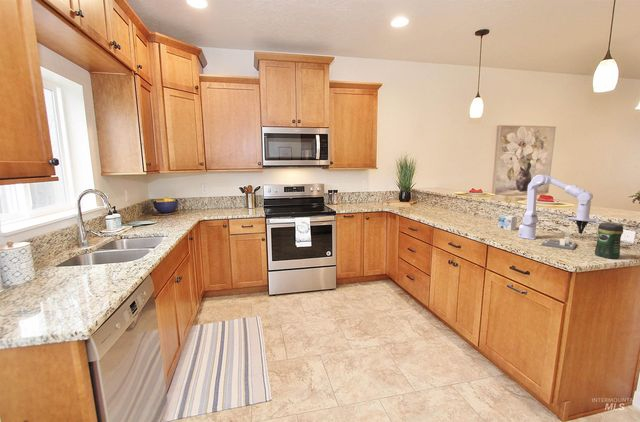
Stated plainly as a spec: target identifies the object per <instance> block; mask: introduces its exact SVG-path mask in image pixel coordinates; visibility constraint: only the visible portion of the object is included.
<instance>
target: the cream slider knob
mask: <svg viewBox="0 0 640 422" xmlns="http://www.w3.org/2000/svg"><path fill="white" fill-rule="evenodd" d="M563 239H566V243H568V244H569V242H571V241H570V240H571V237H570V236H564V238H563Z"/></svg>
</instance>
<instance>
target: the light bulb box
mask: <svg viewBox="0 0 640 422" xmlns="http://www.w3.org/2000/svg"><path fill="white" fill-rule="evenodd" d="M517 221H518V216H515V215H509V214H499V215H498V225H497V229H501V228H502V230H505V229H507V230H506V231H510V230H511V231H515V229H516V230H517V224H518V223H517Z"/></svg>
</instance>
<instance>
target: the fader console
mask: <svg viewBox="0 0 640 422" xmlns="http://www.w3.org/2000/svg"><path fill="white" fill-rule="evenodd" d="M577 245H578V243H577V242H575V241H574V242H573V241H570V242H569V244H568V243H565V246H564V245H560V239H554V238H553V239H552V238H547V239H545V240H544V241H543V242H542V243H541V246H544V247H550V248H555V249H556V248H557V249H562V250H568V251H569V250H570V251H574V249H575V248H576V246H577Z"/></svg>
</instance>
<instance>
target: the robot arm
mask: <svg viewBox="0 0 640 422" xmlns="http://www.w3.org/2000/svg"><path fill="white" fill-rule="evenodd" d="M546 184H547V185H548V184H549V185H554V186H556V187H558V188H561V189H562V190H564V191H565V193H566V194H568V195H570V196H571V197H574V198H575V199H577V200H578V203H577V211H576V217H569V216H567V217H566V221H571V222H575V224H576V226H577V228H578V233H579V234H581V235H582V234H583V232H584V230H585V228H586V227H587V225H588V223H592V224H600V220H599V219H593V218H590V215H591V214H590V213H591V206H592V205H591V204H592V200H593V198H594V194H593V193H592V192H590V191H588V190H587V191H586V189H582V188H581V187H578V185H577V184H567V183H566V182H563V181H561V180H559V179H557V178H556V177H554V176H552V175H548V174H545V173H544V174H537V175H535V176H534V177H532V179H531V181H530V182H529V183H528V184H527V192H526V193H527V194H526V212H525V213H524V216H523V218H522V220H521V221H522V223H523V224H520V225H519V227H518V235H517V238H522V239H526V240H527V239H529V240H535V239H537V236H536V232H537V230H536V229H537V224H538V222H539V217H538V213H537V196H538V195H537V194H538V188H540V187H541V186H544V185H546Z"/></svg>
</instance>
